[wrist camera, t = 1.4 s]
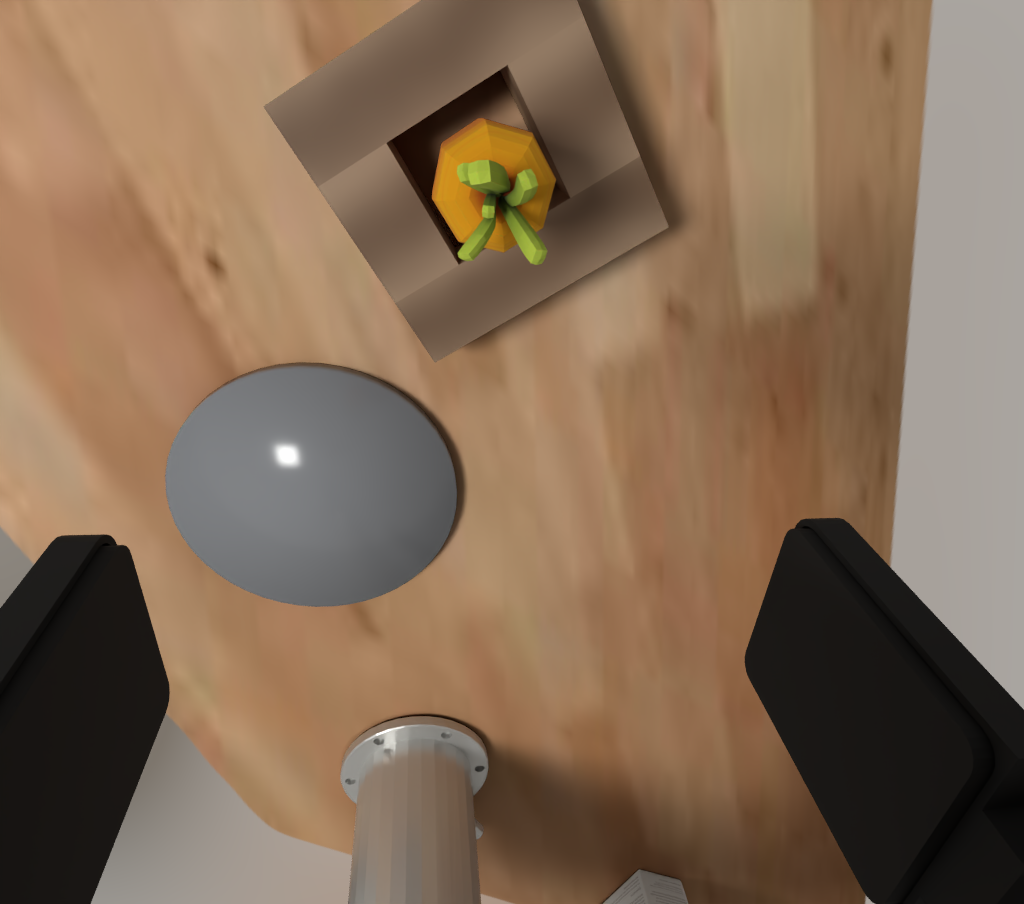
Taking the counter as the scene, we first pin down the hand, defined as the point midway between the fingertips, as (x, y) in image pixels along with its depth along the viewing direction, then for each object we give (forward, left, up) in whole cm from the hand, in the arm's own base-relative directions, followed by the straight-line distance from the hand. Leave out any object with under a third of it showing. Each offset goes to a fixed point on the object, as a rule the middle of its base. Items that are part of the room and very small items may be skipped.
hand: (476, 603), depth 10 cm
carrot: (+2, -3, -30) cm, 31 cm away
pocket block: (+2, -3, -30) cm, 30 cm away
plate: (-10, +16, -30) cm, 35 cm away
